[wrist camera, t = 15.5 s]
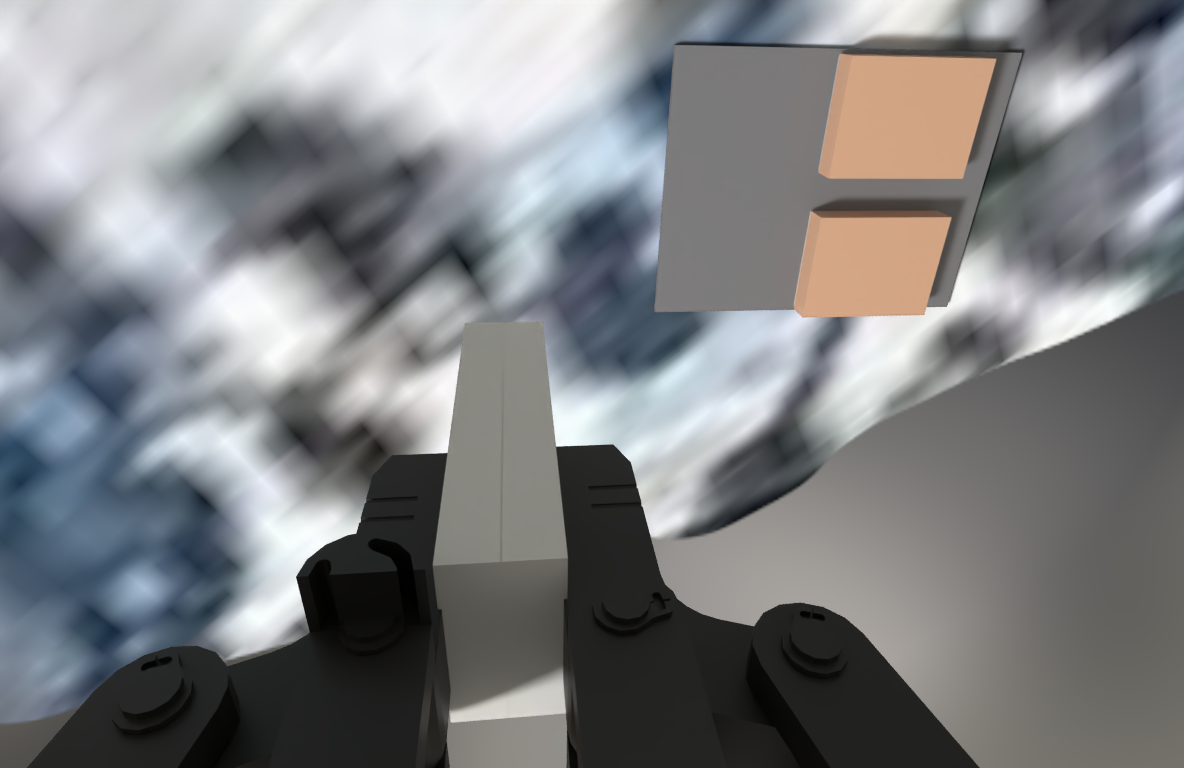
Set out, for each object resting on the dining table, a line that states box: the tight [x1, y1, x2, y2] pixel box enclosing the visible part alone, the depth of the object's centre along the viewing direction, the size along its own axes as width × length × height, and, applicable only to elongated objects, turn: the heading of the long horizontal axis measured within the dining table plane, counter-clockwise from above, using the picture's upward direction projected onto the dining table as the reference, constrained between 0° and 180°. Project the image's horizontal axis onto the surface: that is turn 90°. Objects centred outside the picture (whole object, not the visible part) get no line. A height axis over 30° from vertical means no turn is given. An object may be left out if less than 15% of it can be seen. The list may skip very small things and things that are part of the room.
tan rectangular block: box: [818, 54, 996, 179], centre depth 43 cm, size 7×2×9 cm
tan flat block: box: [794, 211, 952, 317], centre depth 47 cm, size 7×2×9 cm
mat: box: [654, 45, 1022, 312], centre depth 46 cm, size 17×22×1 cm
